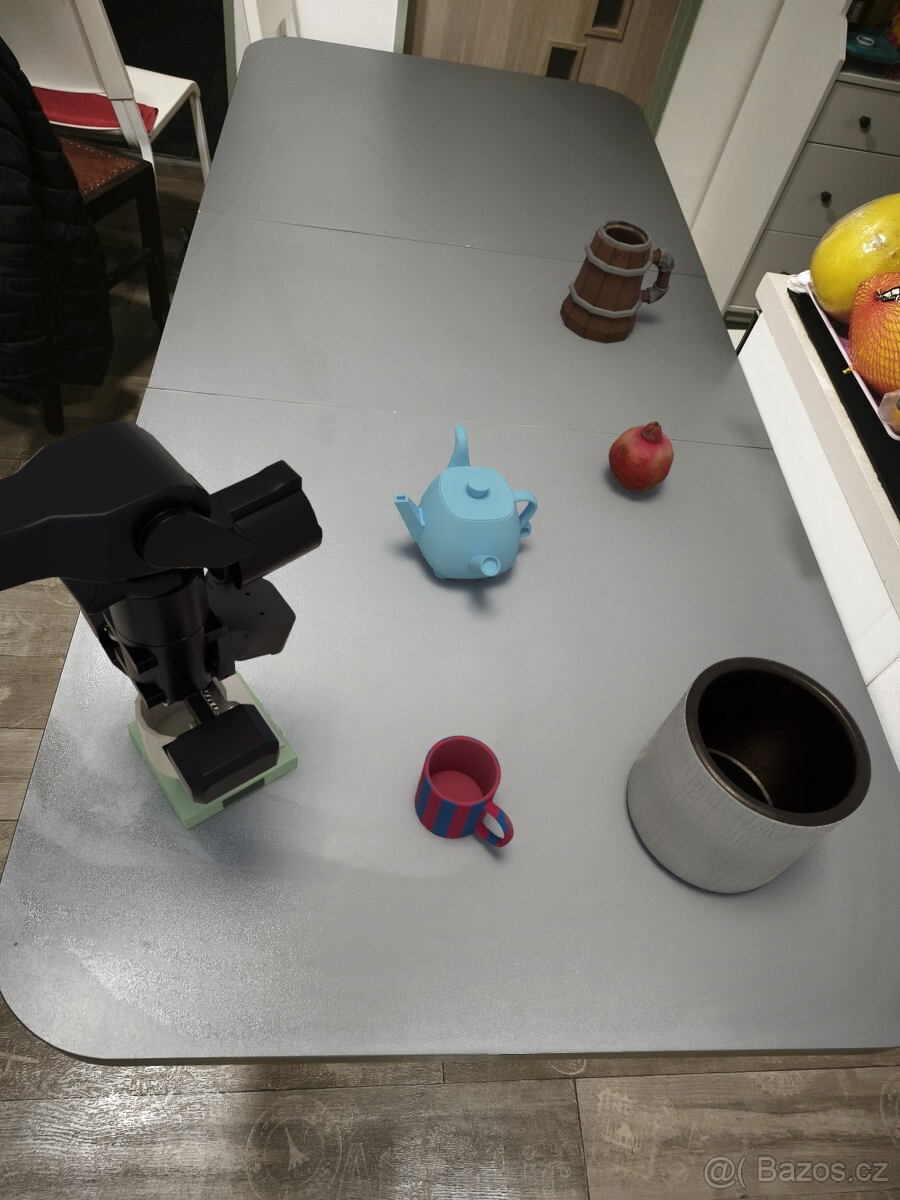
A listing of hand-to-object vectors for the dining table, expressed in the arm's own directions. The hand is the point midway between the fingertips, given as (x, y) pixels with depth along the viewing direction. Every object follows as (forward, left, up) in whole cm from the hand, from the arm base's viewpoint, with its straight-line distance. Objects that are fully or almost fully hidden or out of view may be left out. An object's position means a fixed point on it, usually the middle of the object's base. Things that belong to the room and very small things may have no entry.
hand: (187, 732), depth 63 cm
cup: (+18, -14, -12) cm, 26 cm away
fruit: (+66, +10, -12) cm, 68 cm away
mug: (+91, +39, -12) cm, 100 cm away
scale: (+3, +4, -12) cm, 13 cm away
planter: (+38, -27, -12) cm, 49 cm away
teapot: (+38, +12, -12) cm, 42 cm away
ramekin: (0, 0, -2) cm, 2 cm away
